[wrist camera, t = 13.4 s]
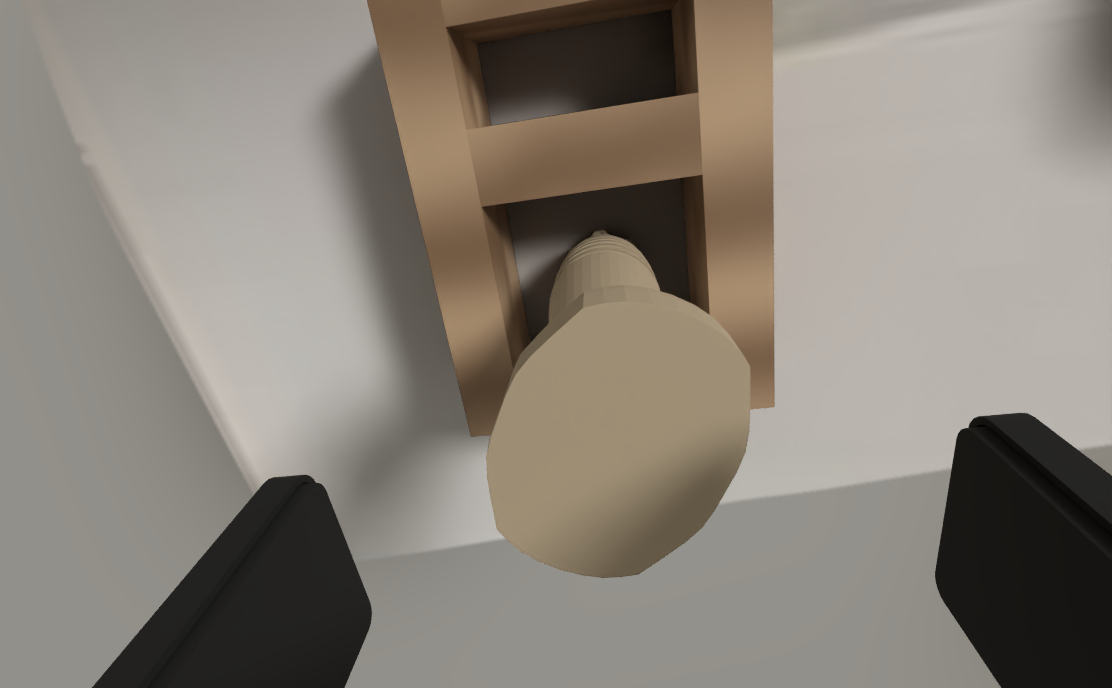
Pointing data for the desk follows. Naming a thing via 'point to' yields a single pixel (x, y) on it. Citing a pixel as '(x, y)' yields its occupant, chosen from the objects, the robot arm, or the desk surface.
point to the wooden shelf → (583, 166)
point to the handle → (616, 420)
